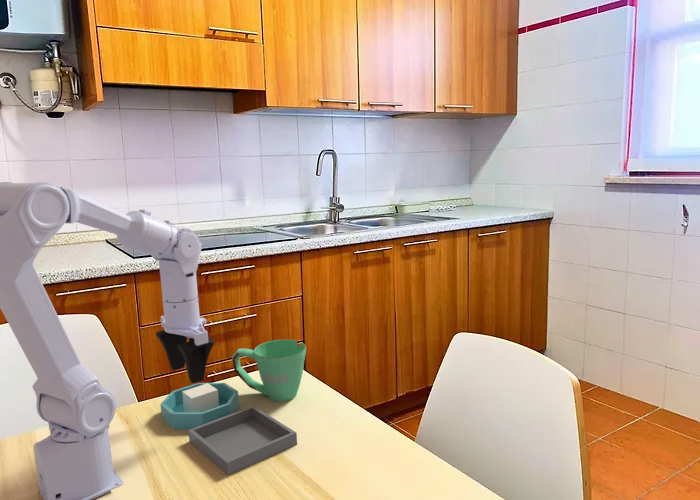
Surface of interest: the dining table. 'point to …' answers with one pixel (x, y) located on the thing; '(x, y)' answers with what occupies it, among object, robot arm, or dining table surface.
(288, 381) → the mug
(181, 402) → the bowl
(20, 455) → the dining table surface
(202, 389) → the off-white smooth cube
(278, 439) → the parts tray
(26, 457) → the dining table surface
